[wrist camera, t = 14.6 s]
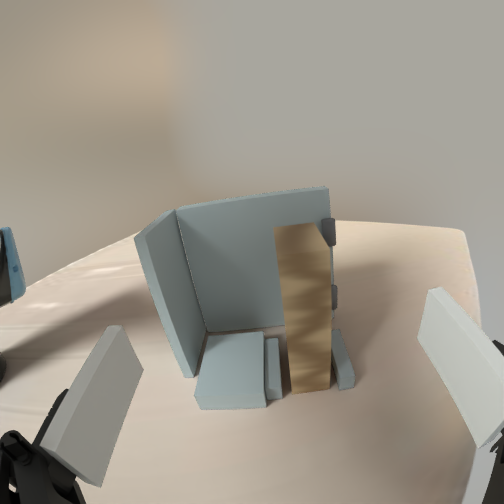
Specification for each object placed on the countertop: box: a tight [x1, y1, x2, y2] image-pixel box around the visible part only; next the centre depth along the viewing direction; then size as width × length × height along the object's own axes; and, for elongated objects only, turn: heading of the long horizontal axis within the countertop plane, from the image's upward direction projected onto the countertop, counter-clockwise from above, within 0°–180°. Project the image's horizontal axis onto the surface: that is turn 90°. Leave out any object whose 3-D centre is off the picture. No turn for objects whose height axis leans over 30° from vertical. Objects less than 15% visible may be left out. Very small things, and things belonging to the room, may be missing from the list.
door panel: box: [273, 222, 332, 394], centre depth 27 cm, size 4×7×16 cm, turn 178°
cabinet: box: [134, 186, 355, 410], centre depth 30 cm, size 20×16×18 cm
